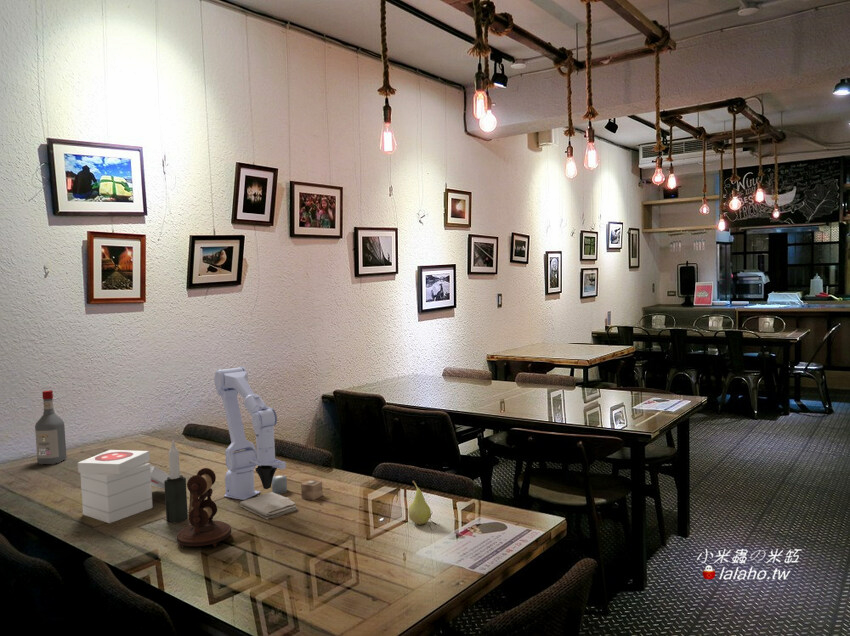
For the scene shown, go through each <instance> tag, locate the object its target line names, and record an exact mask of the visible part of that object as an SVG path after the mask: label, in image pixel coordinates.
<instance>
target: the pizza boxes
mask: <svg viewBox="0 0 850 636" xmlns="http://www.w3.org/2000/svg"><path fill="white" fill-rule="evenodd" d="M150 460H151V459H150V450H130V449H129V450H126V449H124V450H123V449H108V450H106V451H104V452H100V453H98V454H96V455H94V456H92V457H88V458H86V459H83V460H80V461H79V462H77V473H78V474H79V473H80V474H79V475H80V489H81V504H82V505H81V506H82V515H83V516H85V517H89V518H92V519H95V520H98V521H101V522H105V523H107V524H112V523H114V522H116V521H119V520H123V519H126V518H128V517H130V516H134V515H136V514H139V513H142V512H145V511H147V510H150V509H152V508H154V507H153V491H152V489H153V488H152V486H153V487H156V488H160V489H163V490H165V485H164V481H165V480H167V478H168V477H170V474H168V473H167V472H165V471H164V470H161V469H160V468H158V467H157V466H153V465H151V463H150V462H149V461H150Z"/></svg>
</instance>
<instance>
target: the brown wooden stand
mask: <svg viewBox="0 0 850 636" xmlns="http://www.w3.org/2000/svg"><path fill="white" fill-rule="evenodd" d="M216 479H217V475H216V473H215V471H214V470H212V469H211V468H208V467H203V468H201V469H200V470H198V472H197V473H196V474H195V475H192V476H191V477H189V479H188V480H187V481H186V489H187V490H188V491H189V506H188V518H187V519H188V521H189V522H188V523H189V525H187V526H185V527H184V528H181V530H180V531H178V533H177V534H176V542H177V543H178V545H179V547H180V548H183V547H184V546H186V547H203V546H208V545H212V546H213V547H214V548H216V547H217V545H218V543H219V542H221V541H223V540H225V539H227V538H228V537H230V536H231V534H232V526H231V524H229V523H227V522H224V521H221V520H213V519H214V517H215V516H216V515H217V512H218V506H217V504H216V502H215V501H213V500H212V495H213V493H214V492H213V488H211V487H212V486H213V485H214V484H215V482H216Z"/></svg>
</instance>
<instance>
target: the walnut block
mask: <svg viewBox="0 0 850 636" xmlns="http://www.w3.org/2000/svg"><path fill="white" fill-rule="evenodd" d="M300 489H301V490H300V491H301V499H303V500H309V501H315V500H317V499H319V498H321V497H323V481H321V480H315V479H314V480H313V479H309V480H306V481H305V482H302V483H300Z"/></svg>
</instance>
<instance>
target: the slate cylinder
mask: <svg viewBox="0 0 850 636" xmlns="http://www.w3.org/2000/svg"><path fill="white" fill-rule="evenodd" d="M287 483H288V478H287V475H284V474H281V475H279V474H278V475H274V476H273V479H272V484H271V489H272V491H271V492H273V493H276V494H279V495H281V494H285V493H287V492H288V484H287Z"/></svg>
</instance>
